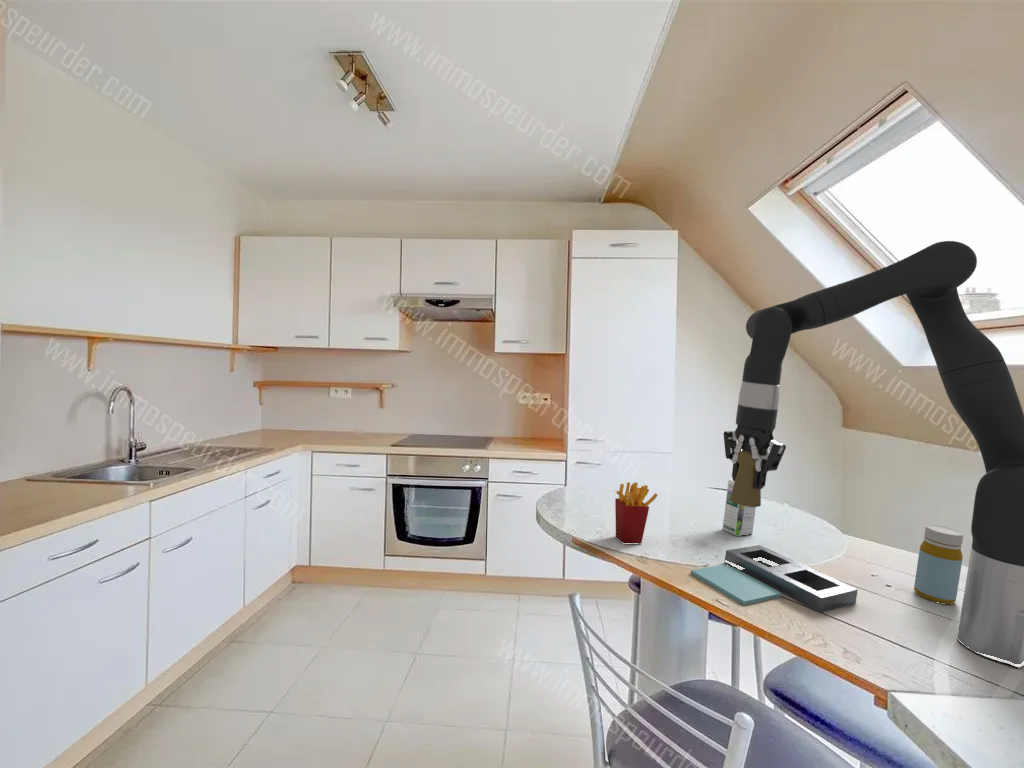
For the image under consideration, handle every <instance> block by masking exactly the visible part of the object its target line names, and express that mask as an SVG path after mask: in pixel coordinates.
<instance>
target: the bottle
mask: <svg viewBox="0 0 1024 768" xmlns="http://www.w3.org/2000/svg"><path fill="white" fill-rule="evenodd" d="M924 528H925V529H924V533H923V534H924V537H923V541H922V542H921V544H920V546H919V550H918V551H919V552H918V558H917V565H916V570H915V579H914V585H913V586H914V587H913V590H914V592H915V594H917V595H918V596H919V597H921V598H922V599H925V600H927V601H930V602H932V601H934V602H933V603H936V602H939V603H938V604H940V603H945V604H944V605H952V604H954V603H955V602H956V601H957V596H958V591H959V590H958V589H959V584H960V578H961V577H960V576H961V570H962V564H963V553H962V545H963V540H964V533H963V532H961V531H959V530H957V529H954V528H951V527H947V526H944V525H938V524H937V525H935V524H927V525H926V526H925V527H924ZM951 603H952V604H951Z"/></svg>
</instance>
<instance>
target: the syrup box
mask: <svg viewBox="0 0 1024 768" xmlns="http://www.w3.org/2000/svg"><path fill="white" fill-rule="evenodd" d="M734 482H735V481H733V478H729V479H728V481H727V487H726V489H727V490H726V497H725V505H724V506H725V507H724V512H723V513H724V515H723V522H722V530H723V531H725V532H728V533H730V534H732V535H734V534H735V536H736V535H737V536H736V537H741V536H740V535H746V536H748V535H747V534H752V535H753V531H754V523H755V516H756V510H757V509H756V508H757V507H749V506H743V505H740V504H737V503H734V502H732V501H731V500H730V496H731V493H732V489H733V486H734Z"/></svg>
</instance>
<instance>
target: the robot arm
mask: <svg viewBox="0 0 1024 768" xmlns="http://www.w3.org/2000/svg"><path fill="white" fill-rule="evenodd" d="M977 259H978V258H977V254H976V252H975V251H974V250H973V249H972V248H971V247H970V246H969V245H967V244H965V243H964V242H960V241H954V240H945V241H938V242H935V243H932V244H930V245H928V246H926V247H925V248H922V249H921V250H919V251H916V252H915V253H913V254H911V255H909V256H907V257H904V258H903V259H901V260H898V261H896V262H894V263H891V264H890V265H887V266H884V267H882V268H880V269H877V270H875V271H872V272H869V273H866V274H864V275H862V276H861V275H860V276H859V277H856V278H853V279H850V280H847V281H845V282H841V283H837V284H835V285H832V286H829V287H825V288H823V289H820V290H816V291H813V292H811V293H808V294H805V295H802V296H800V297H798V298H796V299H793V300H790V301H786V302H784V303H780V304H775V305H773V306H770V307H769V306H768V307H766V308H762V309H758V310H757V311H755V312H753V313H752V314H751V315H750V316H749V317H748V319H747V321H746V323H745V330H746V334H747V336H748V337H749V338H750V339H752V340H751V341H752V342H751V347H750V352H749V354H748V355H747V356H746V359H745V361H744V366H743V371H742V372H743V373H742V382H741V385H740V389H739V393H738V403H737V410H736V415H735V416H736V417H735V424H736V425H737V426H736V429H735V430H727V431H724V432H723V442H724V452H725V454H724V455H725V458H726V459H728V460H730V461H731V462H732V472H731V479H733V481H735V479H736V475H737V472H738V468H739V463H738V459H737V458H738V454H739V453H740V452H741V451H748V452H751V453H752V457H753V459H754V460H756V464H755V466H756V470H757V471H755V474H754V482H753V488H755V489H761V490H762V489H763V488H764V487H765V486H766V482H767V475H768V474H767V473H768V472H771V471H777V469H778V467H779V465H780V463H781V461H782V458H783V456H784V453H785V451H786V448H787V445H786V444H785V443H779V442H777V440H775V438H774V434H773V432H774V430H775V429H776V426H777V425H776V424H777V418H778V411H779V402H780V385H781V379H782V378H781V376H782V369H783V366H782V365H783V362H784V358H785V357H786V353H787V351H788V348H789V347H788V346H789V343H790V340H791V336H792V334H795V333H799V332H803V331H805V330H806V331H807V330H813V329H818V328H821V327H824V326H828V325H831V324H833V323H838V322H840V321H843V320H846V319H849V318H851V317H853V316H856V315H858V314H860V313H863V312H865V311H867V310H869V309H872V308H874V307H876V306H878V305H880V304H882V303H885V302H888V301H889V300H892V299H896V298H898V297H900V296H904V295H906V297H907V299H908V302H909V303H910V305H911V307H912V309H913V311H914V312H915V315H916V316H917V318H918V321H919V322H920V324H921V326H922V328H923V331H924V334H925V337H926V340H927V343H928V346H929V347H930V351H931V353H932V356H933V358H934V362H935V365H936V367H937V371H938V374H939V376H940V379H941V382H942V384H943V388H944V391H945V393H946V395H947V397H948V399H949V402H950V404H951V405H952V407H953V408H954V410H955V412H956V413H957V415H958V416H959V418H960V419H961V421H962V422H963V423H964V424H965V425H966V427H967V429H968V430H969V431H970V433H971V435H972V436H973V437H974V440H975V442H976V443H977V444H976V445H977V446H978V449H979V451H980V454H981V458H982V461H983V464H984V469H985V474H983V476H981V477H980V479H979V481H978V483H977V486H976V490H975V494H974V496H975V497H974V502H973V510H972V511H973V512H972V517H971V528H970V531H971V536H972V539H971V540H972V542H971V548H970V549H971V550H970V554H969V555H970V556H969V560H968V569H967V573H966V579H965V587H964V593H963V598H962V599H963V600H962V606H961V612H960V619H959V624H958V630H957V637H958V638H957V640H958V639H959V640H960V641H961V642H962V643H963V644H964V645H965V646H967V647H969V648H970V649H972V650H974V651H976V652H979V653H982V654H986V655H990V656H994V657H997V658H1000V659H1003V660H1007V661H1010V662H1012V663H1014V664H1021V663H1022V662H1023V661H1024V410H1023V407H1022V405H1021V402H1020V399H1019V396H1018V395H1019V394H1018V393H1017V389H1016V387H1015V384H1014V381H1013V378H1012V376H1011V373H1010V371H1009V368H1008V366H1007V363H1006V361H1005V359H1004V356H1003V355H1002V353H1001V351H1000V349H999V348H998V347H997V346H996V345H995V343H994V342H993V341H992V340H991V339H990V338H988V337H987V336H986V335H985V334H984V332H982V331H981V330H980V329H979V328H977V327H976V326H975V325H974V324H973V323H972V322H971V320H970V319H969V318H968V316H967V314H966V312H965V310H964V306H963V304H962V302H961V299H960V296H959V293H958V287H960V286H961V285H963V284H964V283H965V282H967V280H969V278H971V276H972V275H973V273H974V272H975V271H976V267H977V265H978V264H977V263H978V260H977ZM759 454H762V455H763V456H760V455H759ZM762 459H763V460H764V462H763V465H762V462H761V460H762ZM965 646H964V647H965Z"/></svg>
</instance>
